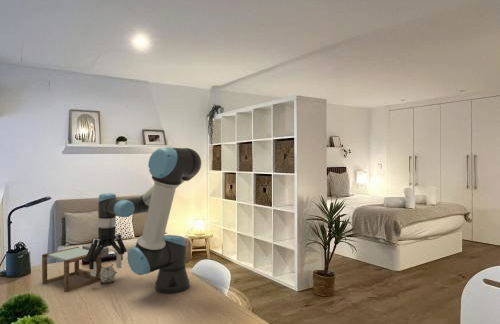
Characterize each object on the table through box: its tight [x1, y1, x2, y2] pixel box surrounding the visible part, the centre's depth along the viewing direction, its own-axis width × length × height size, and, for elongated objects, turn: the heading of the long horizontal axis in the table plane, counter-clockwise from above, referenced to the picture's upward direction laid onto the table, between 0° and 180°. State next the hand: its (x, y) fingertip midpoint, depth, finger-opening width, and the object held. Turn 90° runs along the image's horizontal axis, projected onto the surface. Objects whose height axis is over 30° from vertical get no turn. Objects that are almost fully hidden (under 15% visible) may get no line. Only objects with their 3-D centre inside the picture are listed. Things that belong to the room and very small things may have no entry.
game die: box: [97, 264, 118, 285], centre depth 156 cm, size 9×8×10 cm
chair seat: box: [47, 243, 110, 262], centre depth 161 cm, size 16×22×4 cm
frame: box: [41, 246, 102, 293], centre depth 157 cm, size 20×17×14 cm
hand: (106, 271), depth 157 cm, fingers open, 13 cm apart
